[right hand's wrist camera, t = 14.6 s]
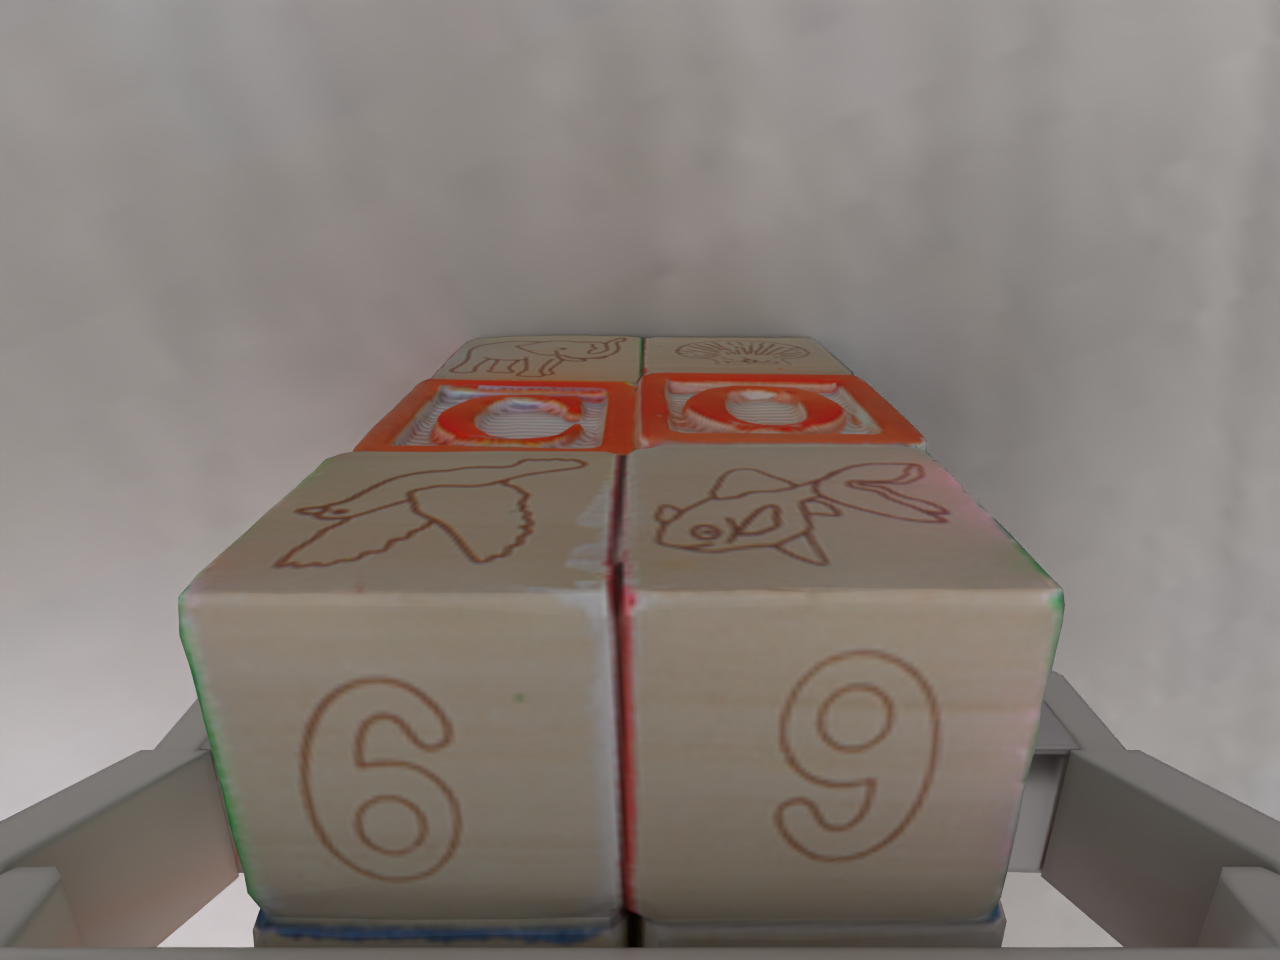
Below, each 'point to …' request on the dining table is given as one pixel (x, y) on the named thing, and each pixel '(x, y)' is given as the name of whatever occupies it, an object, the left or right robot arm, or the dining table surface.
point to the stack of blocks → (626, 664)
